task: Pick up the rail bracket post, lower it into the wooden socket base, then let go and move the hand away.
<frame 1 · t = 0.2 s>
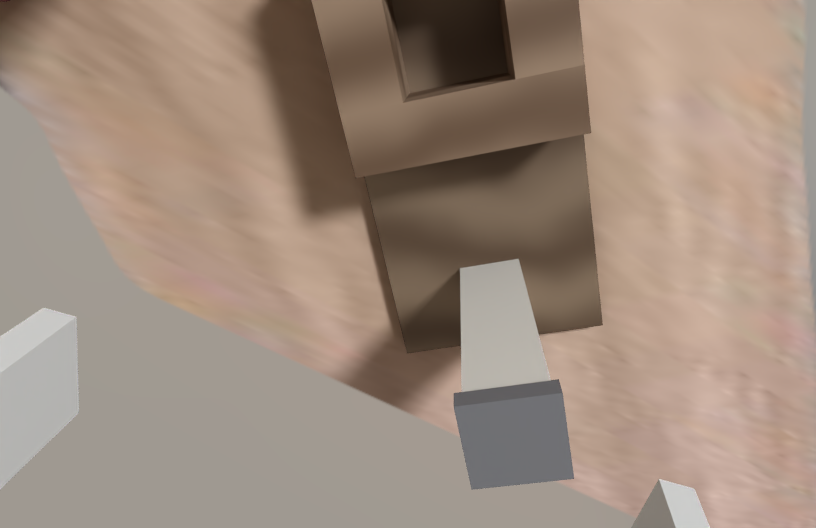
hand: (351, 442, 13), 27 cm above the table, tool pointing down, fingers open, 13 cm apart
rail bracket post: (493, 289, 40), point 1 cm above the table, touching wooden socket base
wooden socket base: (449, 30, 35), on the table
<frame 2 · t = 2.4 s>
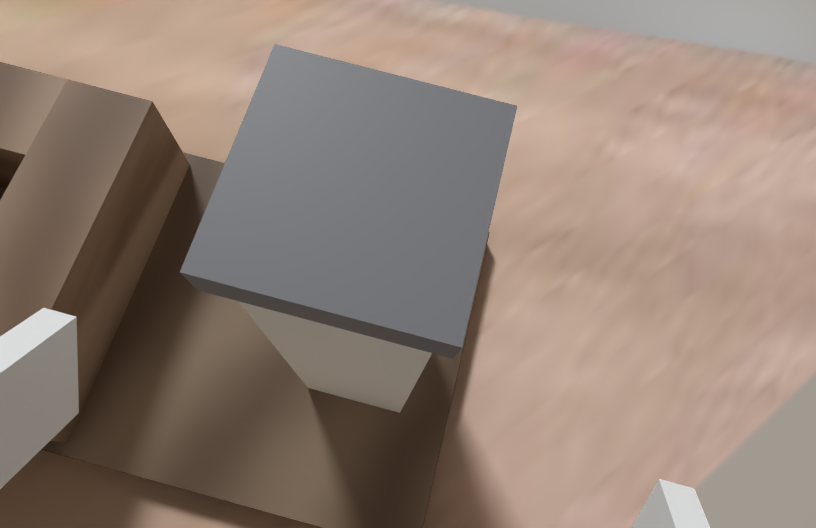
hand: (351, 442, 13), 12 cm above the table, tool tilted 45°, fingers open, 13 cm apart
rail bracket post: (366, 354, 25), point 1 cm above the table, touching wooden socket base
wooden socket base: (6, 260, 26), on the table
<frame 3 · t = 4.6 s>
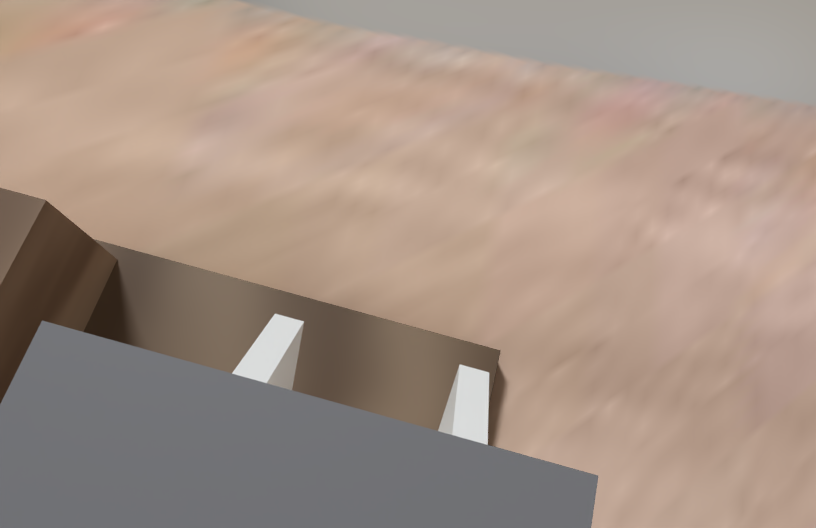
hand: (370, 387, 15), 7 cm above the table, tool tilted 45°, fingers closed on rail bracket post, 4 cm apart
rail bracket post: (338, 524, 19), point 1 cm above the table, touching gripper, wooden socket base
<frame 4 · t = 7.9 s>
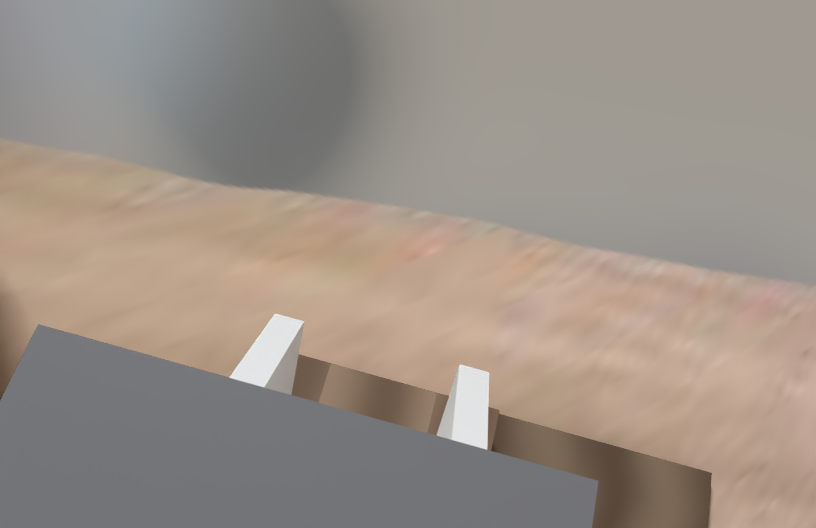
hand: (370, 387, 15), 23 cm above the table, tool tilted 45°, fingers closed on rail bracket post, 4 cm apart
rail bracket post: (337, 525, 19), point 17 cm above the table, touching gripper
wooden socket base: (352, 497, 35), on the table
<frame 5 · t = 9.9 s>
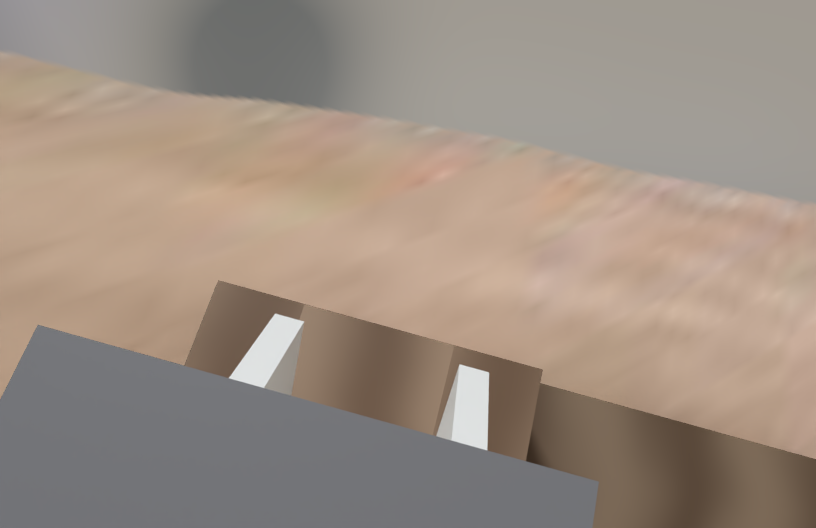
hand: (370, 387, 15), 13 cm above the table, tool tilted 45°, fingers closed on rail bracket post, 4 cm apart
rail bracket post: (337, 525, 19), point 7 cm above the table, touching gripper
wooden socket base: (337, 492, 26), on the table
when the fingers open (8 cm above the table, at t = 11.4 s): rail bracket post drops 2 cm, resting on wooden socket base.
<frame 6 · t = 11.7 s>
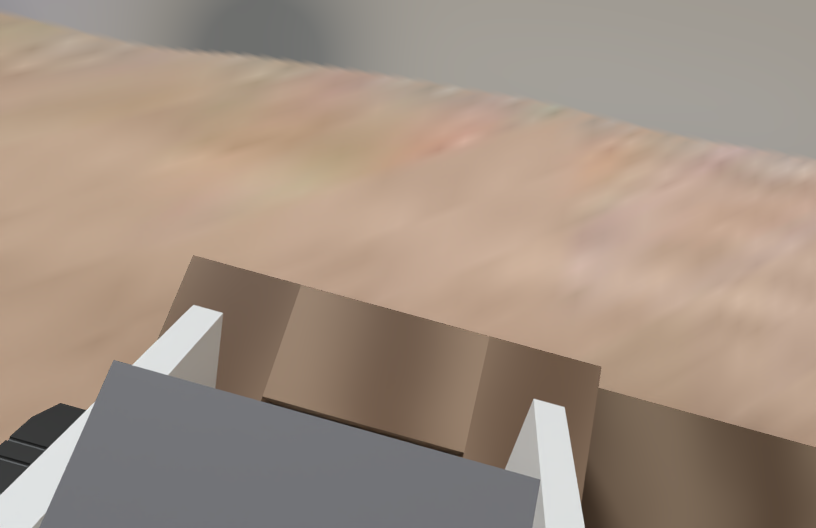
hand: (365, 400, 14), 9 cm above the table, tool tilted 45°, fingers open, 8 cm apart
rail bracket post: (339, 522, 20), point 1 cm above the table, touching wooden socket base
wooden socket base: (341, 518, 21), on the table
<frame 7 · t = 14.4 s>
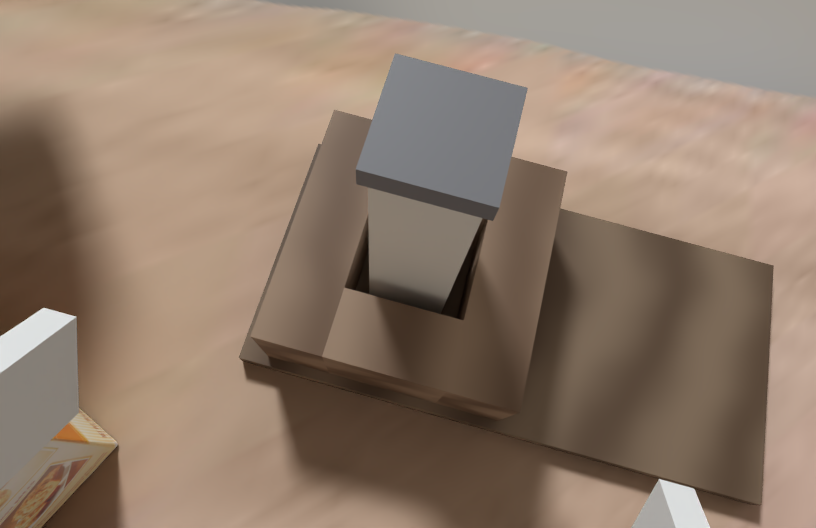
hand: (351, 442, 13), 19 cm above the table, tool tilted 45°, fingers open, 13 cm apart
rail bracket post: (412, 280, 34), point 1 cm above the table, touching wooden socket base
wooden socket base: (411, 284, 35), on the table
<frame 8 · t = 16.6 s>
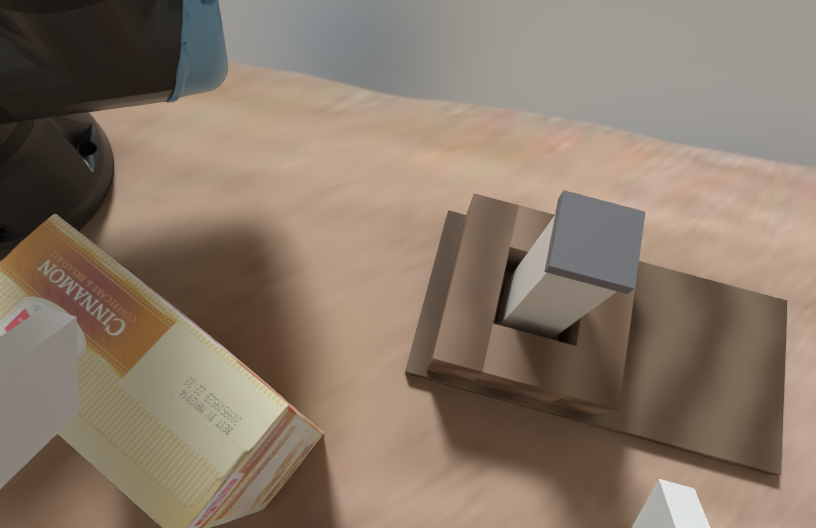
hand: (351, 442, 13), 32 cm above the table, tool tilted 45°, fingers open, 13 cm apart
coffeecake box: (220, 408, 44), on the table
rail bracket post: (524, 313, 46), point 1 cm above the table, touching wooden socket base
wooden socket base: (521, 316, 47), on the table
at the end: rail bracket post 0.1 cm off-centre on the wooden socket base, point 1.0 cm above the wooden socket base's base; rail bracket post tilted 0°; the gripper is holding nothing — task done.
